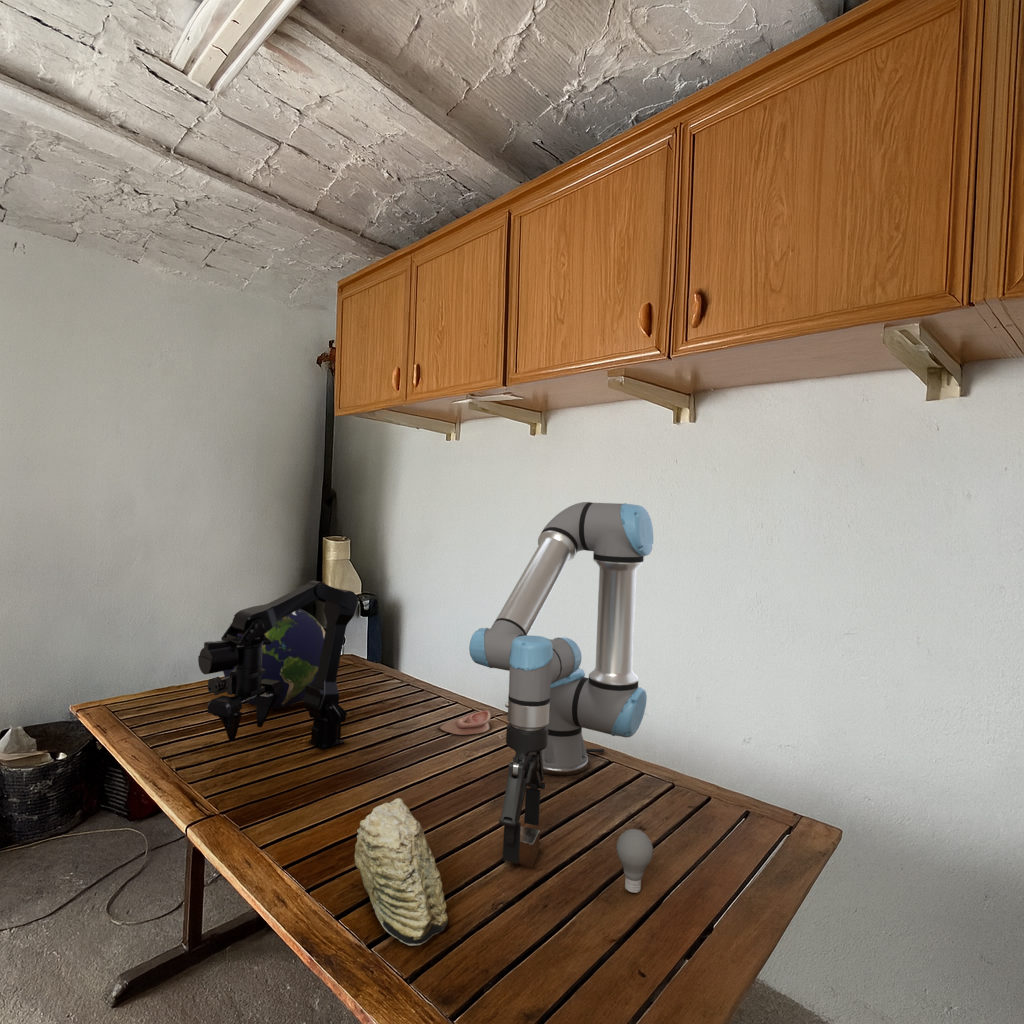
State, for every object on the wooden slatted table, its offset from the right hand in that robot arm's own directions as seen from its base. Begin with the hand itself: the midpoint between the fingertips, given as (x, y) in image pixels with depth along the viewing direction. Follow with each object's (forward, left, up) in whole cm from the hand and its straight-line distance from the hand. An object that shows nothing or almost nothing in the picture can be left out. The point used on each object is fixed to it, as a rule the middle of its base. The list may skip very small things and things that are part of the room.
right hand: (521, 841), depth 114 cm
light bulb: (-14, +15, -3) cm, 21 cm away
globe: (+38, -96, -3) cm, 103 cm away
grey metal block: (0, 0, -3) cm, 3 cm away
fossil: (+24, +7, -3) cm, 25 cm away
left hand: (+46, -52, +5) cm, 70 cm away
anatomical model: (-10, -64, -3) cm, 65 cm away
